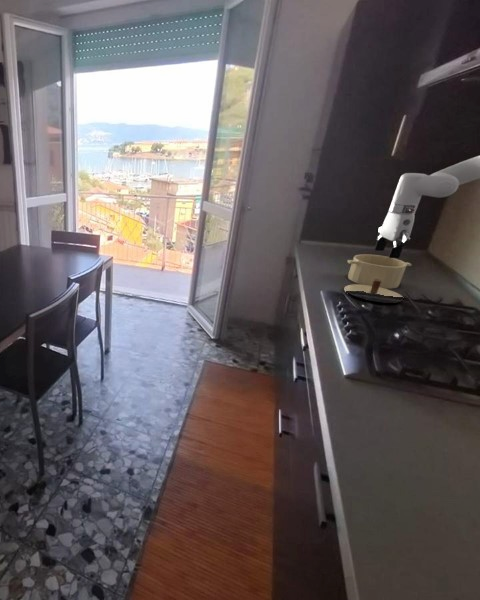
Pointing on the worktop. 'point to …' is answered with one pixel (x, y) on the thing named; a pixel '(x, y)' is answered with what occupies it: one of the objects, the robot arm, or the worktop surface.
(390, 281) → the pot
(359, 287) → the lid
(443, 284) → the worktop surface
